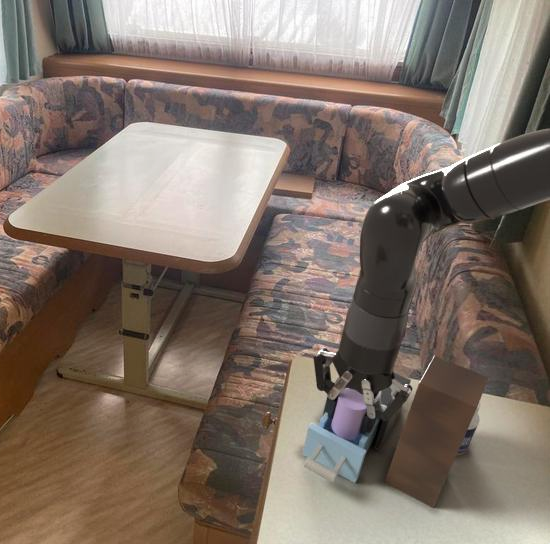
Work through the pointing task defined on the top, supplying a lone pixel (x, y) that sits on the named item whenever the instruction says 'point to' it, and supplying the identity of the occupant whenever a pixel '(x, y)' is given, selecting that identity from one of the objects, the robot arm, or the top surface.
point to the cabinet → (385, 400)
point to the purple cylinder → (349, 414)
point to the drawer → (335, 451)
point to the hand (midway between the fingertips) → (348, 422)
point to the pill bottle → (469, 432)
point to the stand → (435, 429)
